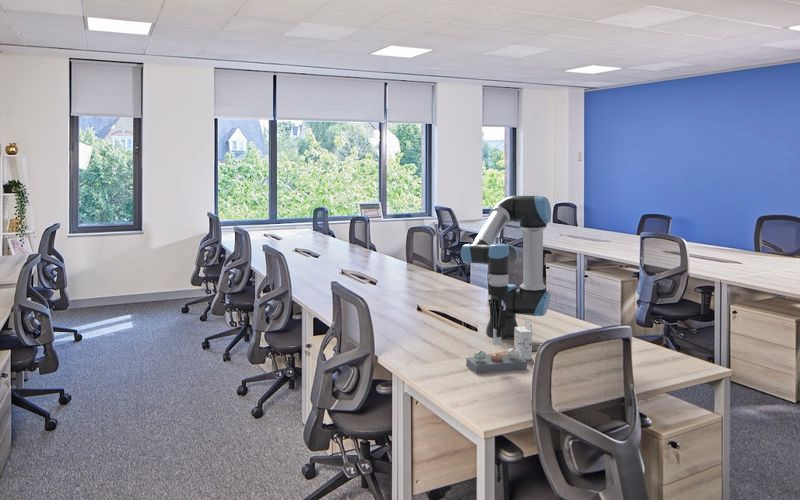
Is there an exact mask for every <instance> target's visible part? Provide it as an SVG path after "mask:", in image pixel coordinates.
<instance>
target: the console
mask: <svg viewBox="0 0 800 500" xmlns="http://www.w3.org/2000/svg"><path fill="white" fill-rule="evenodd" d="M465 359H466V365H465V366H466V367H467V368H469V369H470V371H472V372H474V373H475V374H487V373H496V372H508V371H517V370H518V371H519V370H527V369H528V361H527V360H524V359H523V358H521V357H520V356H517V357H511V356H508V354H502V361H492V360H491V355H490V356H486V358H485V359H482V360H479V359H475V358H474V357H466V358H465Z"/></svg>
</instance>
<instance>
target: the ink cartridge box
mask: <svg viewBox="0 0 800 500" xmlns="http://www.w3.org/2000/svg"><path fill="white" fill-rule="evenodd" d="M513 339H514V341H513V342H514V343H513V345H514V346H513V349H518V350H519V356H520V357H521V358H523V359H524V360H526V361H527V360H529V361H530V360H533V359H532V358H533V355H532V354H533V352H532V351H533V324H532V323H530V321H528V320H527V319H524V326H518V327H515V335H514V338H513Z"/></svg>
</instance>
